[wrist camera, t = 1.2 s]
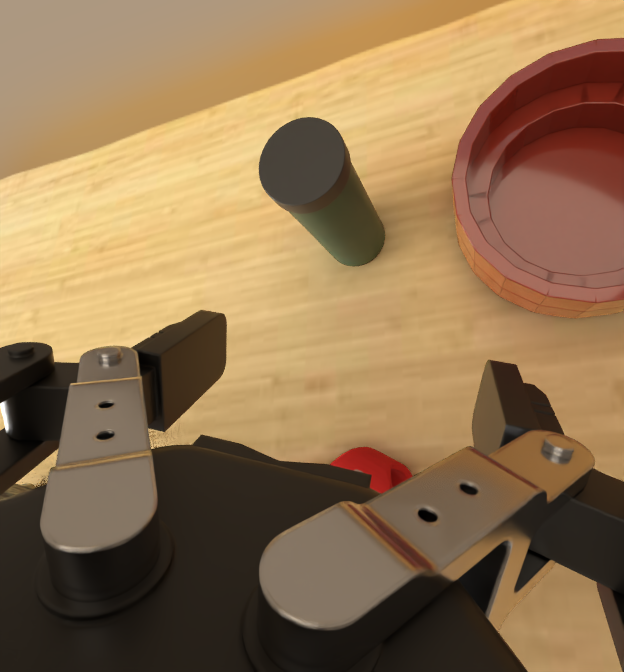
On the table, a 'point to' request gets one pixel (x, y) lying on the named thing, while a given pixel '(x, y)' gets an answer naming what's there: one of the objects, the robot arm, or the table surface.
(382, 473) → the tracker holder
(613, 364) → the table surface
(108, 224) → the table surface
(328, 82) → the table surface
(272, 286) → the table surface
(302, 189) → the tube
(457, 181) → the bowl
